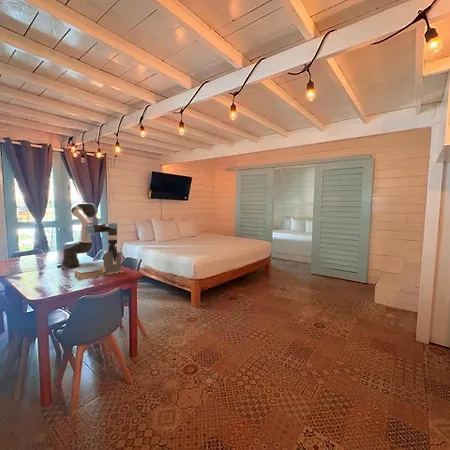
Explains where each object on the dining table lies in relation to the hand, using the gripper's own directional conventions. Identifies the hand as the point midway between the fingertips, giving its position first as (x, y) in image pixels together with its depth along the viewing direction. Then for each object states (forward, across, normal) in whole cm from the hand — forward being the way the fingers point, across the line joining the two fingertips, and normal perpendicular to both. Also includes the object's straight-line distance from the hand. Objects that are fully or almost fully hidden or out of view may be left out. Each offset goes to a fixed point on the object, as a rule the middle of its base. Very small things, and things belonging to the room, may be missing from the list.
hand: (112, 263), depth 225 cm
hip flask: (+8, 0, 0) cm, 8 cm away
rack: (+8, 0, -19) cm, 21 cm away
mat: (+8, 0, 0) cm, 8 cm away
